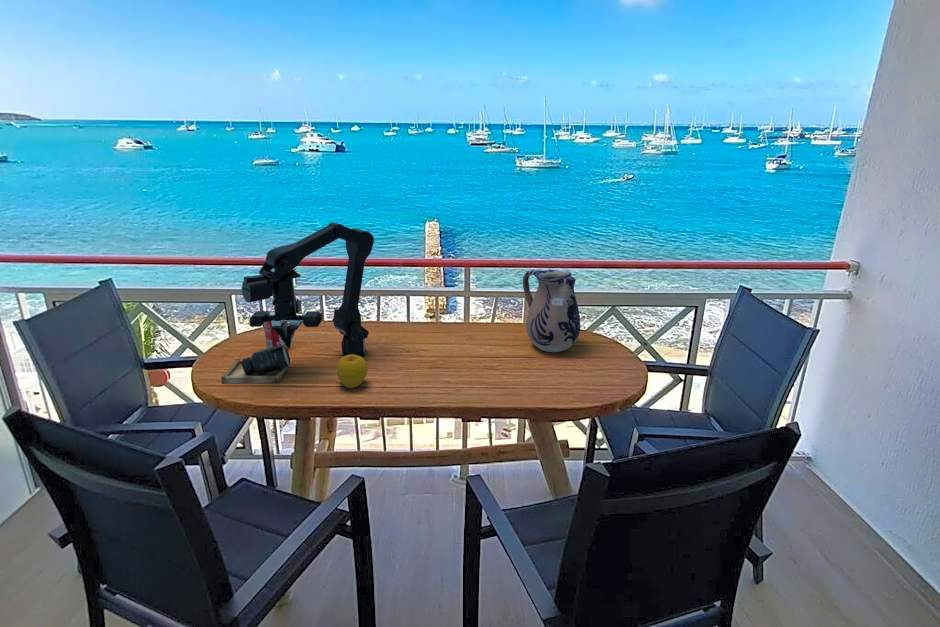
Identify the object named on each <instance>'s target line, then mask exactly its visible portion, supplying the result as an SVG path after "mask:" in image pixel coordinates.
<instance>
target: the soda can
mask: <svg viewBox="0 0 940 627" xmlns="http://www.w3.org/2000/svg"><path fill="white" fill-rule="evenodd" d="M269 313H270V315H275V310H271V311H269ZM288 326H289V322H287V327H288ZM263 327H264V337H265V338H264V339H265V343H266V349H268V348H271V347H275V346H278V345H284V346H285V347H286V349H287V350H288V347H287V346H286V345H285V343H284V342H283V340H282V338H281V337H280V336H279V334H278V333H277V332H276V331H275V330H272V329H271V327H272V322H264V324H263Z"/></svg>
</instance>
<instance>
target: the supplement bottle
mask: <svg viewBox="0 0 940 627" xmlns="http://www.w3.org/2000/svg"><path fill="white" fill-rule="evenodd" d="M290 357H291V356H290V354H289V351H288V348H287V349H286V347H285V346H284V345H278V346H275V347H271V348H268V349H267V348H265V349H262V350H258V351H254V352H253V353H252V354H251V356H250V357H249V356H248V357H246V358H243V360H242V367H243V370H244V372H245V374H246V375H251V374H254V373H256V374H258V375H263V374H267V373H270V372H274V371H277V370H281V369H284V368H287V367H290V365H291V358H290Z"/></svg>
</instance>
